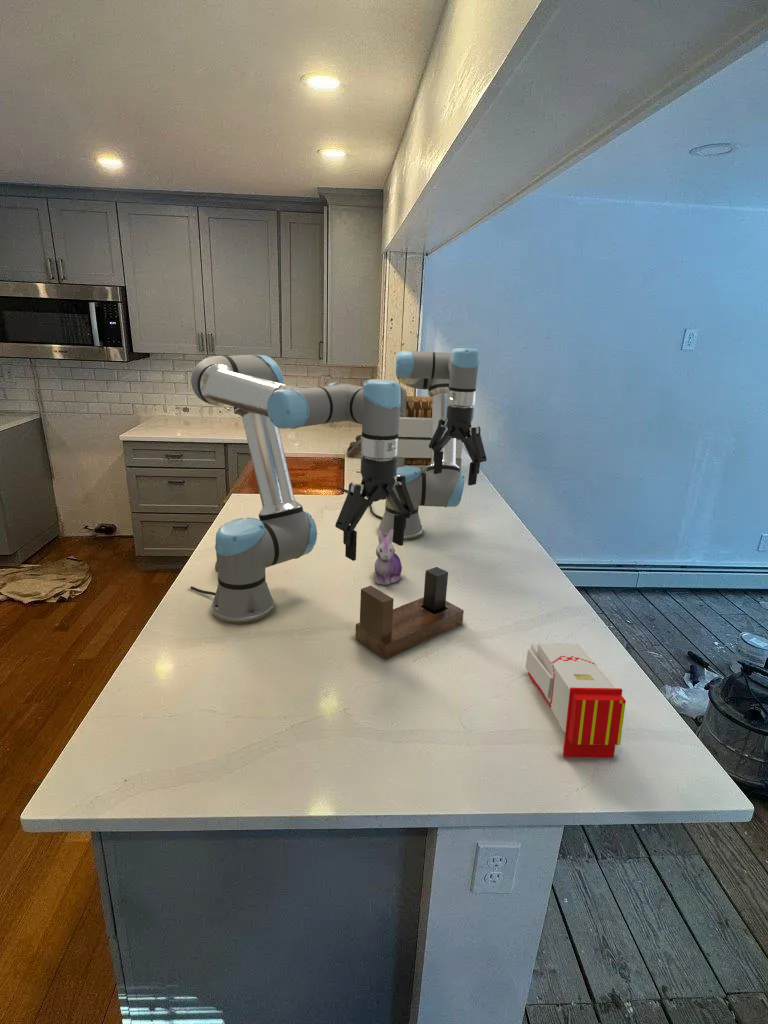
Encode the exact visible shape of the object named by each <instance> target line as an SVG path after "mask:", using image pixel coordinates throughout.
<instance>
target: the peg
mask: <svg viewBox="0 0 768 1024" xmlns="http://www.w3.org/2000/svg"><path fill="white" fill-rule="evenodd" d="M448 580H449V571H446V570H445V569H443V568H441V567H438V566H434V567H432V568H429V569H426V570H425V574H424V586H423V597H424V599H423V608H424V609H426V610H428V611H429V612H431V613H433V614H437V613H439V612H441V611H444V610H445V603H446V601H447V590H448V582H449V581H448Z"/></svg>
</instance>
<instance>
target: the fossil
mask: <svg viewBox="0 0 768 1024" xmlns="http://www.w3.org/2000/svg"><path fill="white" fill-rule="evenodd" d="M354 440H355V441H351V442H350V443H349V446H348V447H347V450H346V456H347V457H348V458H352V457H355V456H357V455H359V454H361V443H362V434H358V435H356V436H355V438H354Z"/></svg>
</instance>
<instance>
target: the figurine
mask: <svg viewBox="0 0 768 1024" xmlns="http://www.w3.org/2000/svg"><path fill="white" fill-rule="evenodd" d="M377 536H378V544H377V546H376V549H375V554H376V555H375V556H376V557H377V558H376V560H375V562H374V573H373V579H374V582H375V584H379V585H384V586H387V585H389V584H395V583H397V582H398V581H399V580H400V579H401V576H402V575H401V574H402V569H403V567H402V562H401V558H400V557H399V555H398V554H397V553H396V548H395V547H394V543H393V539H392V538H393V529H391V530H390V531H389V533H388V534H387V536H384V534H383V532H382V531H381V530H380V531H379V530H378V533H377Z"/></svg>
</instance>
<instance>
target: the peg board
mask: <svg viewBox="0 0 768 1024" xmlns="http://www.w3.org/2000/svg"><path fill="white" fill-rule="evenodd" d="M423 599H424V596H423V597H420V598H418V599H415V600H413V601H410V602H408V603H405V604H402V605H400V606H398V607H396V608H394V598H393V597H392V596H389V594H387V593H385V592H383V591H381V590H380V589H378V588H376V587H375V586H373V585H368V586H364V587H361V588H360V600H359V601H360V602H359V603H360V605H359V607H360V608H359V622H357V623H355V635H354V636H355V637H354V639H355V640H356V641H358V642H359V643H360V644H362V645H363V646H364V647H366V648H368V649H369V650H371V651H372V652H373V653H375V654H376V655H377V656H379V657H380V658H381V659H383V660H385V661H386V660H388V659H390V658H392V657H395V656H397V655H399V654H401V653H404V652H406V651H408V650H410V649H412V648H414V647H416V646H418V645H421V644H422V643H425V642H428V641H429V640H431V639H433V638H435V637H438V636H440V635H442V634H444V633H446V632H449V631H450V630H453V629H454V628H457V627H459V626H461V625H463V622H464V611H465V610H464V609H462V608H461V607H459V606H457V605H455V604H453V603H451V602H449V601H448V600H446V603H445V610H444V611H441V612H439V613H437V614H433V613H431V612H429V611H428V610H426V609H424V608H423Z"/></svg>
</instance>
